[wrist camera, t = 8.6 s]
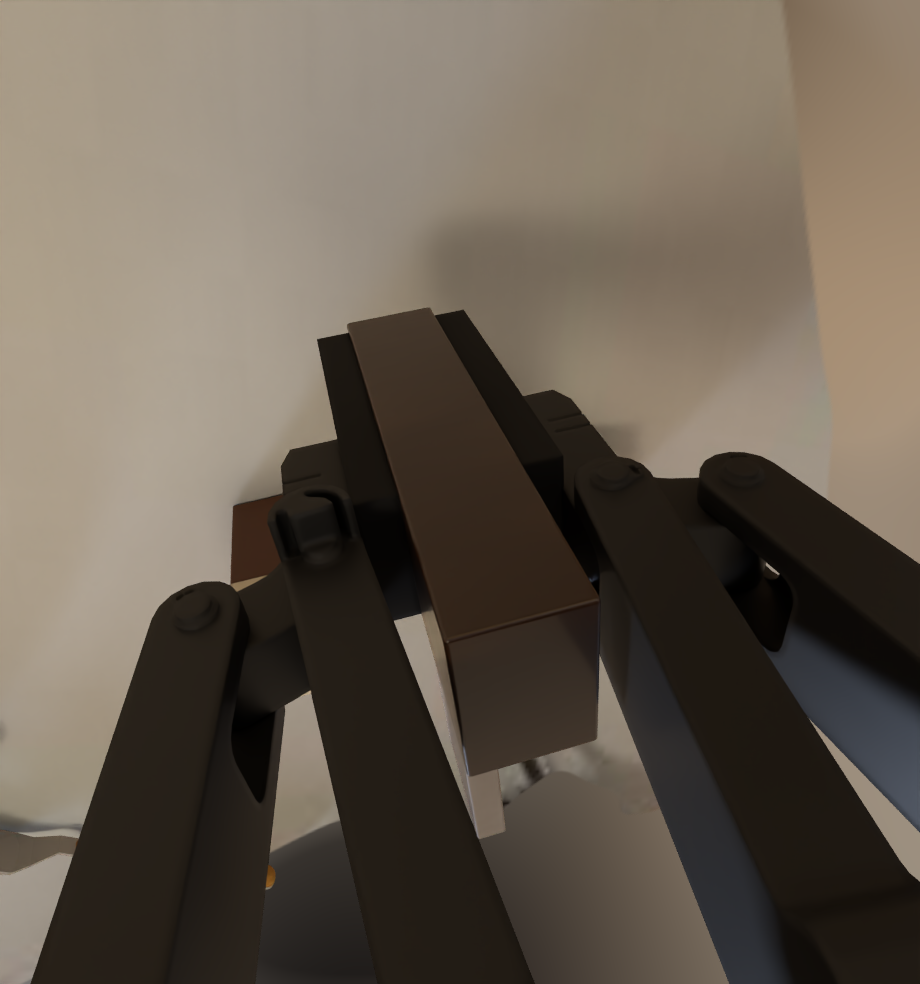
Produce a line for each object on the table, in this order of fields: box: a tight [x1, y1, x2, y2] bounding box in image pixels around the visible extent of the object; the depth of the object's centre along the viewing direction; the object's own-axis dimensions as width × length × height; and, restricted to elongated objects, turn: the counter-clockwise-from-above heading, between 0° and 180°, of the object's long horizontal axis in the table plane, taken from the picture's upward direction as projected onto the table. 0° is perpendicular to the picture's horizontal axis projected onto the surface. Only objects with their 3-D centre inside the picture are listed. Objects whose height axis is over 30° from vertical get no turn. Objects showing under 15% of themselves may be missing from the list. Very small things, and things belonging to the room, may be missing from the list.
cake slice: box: [231, 495, 311, 697], centre depth 28 cm, size 5×6×6 cm
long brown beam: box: [347, 308, 601, 839], centre depth 17 cm, size 2×17×10 cm, turn 6°
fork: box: [0, 830, 275, 889], centre depth 38 cm, size 2×2×20 cm
